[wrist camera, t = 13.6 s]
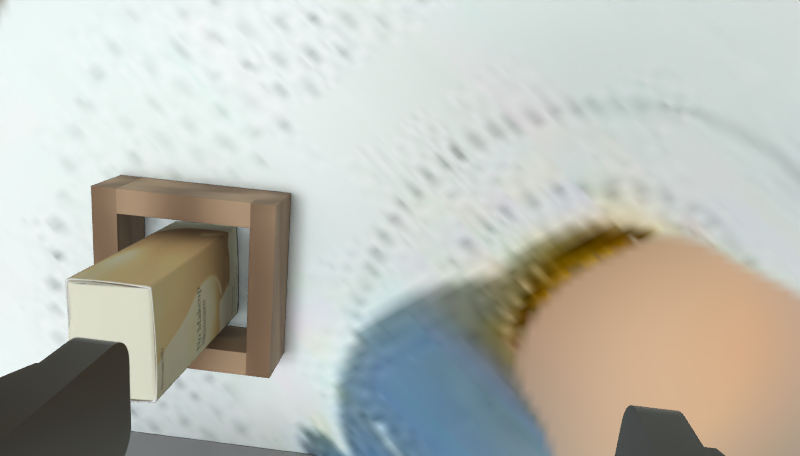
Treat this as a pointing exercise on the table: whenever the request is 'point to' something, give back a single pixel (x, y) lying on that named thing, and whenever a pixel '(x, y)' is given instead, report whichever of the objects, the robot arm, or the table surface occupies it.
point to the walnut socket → (256, 209)
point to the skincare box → (159, 300)
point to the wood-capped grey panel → (192, 447)
